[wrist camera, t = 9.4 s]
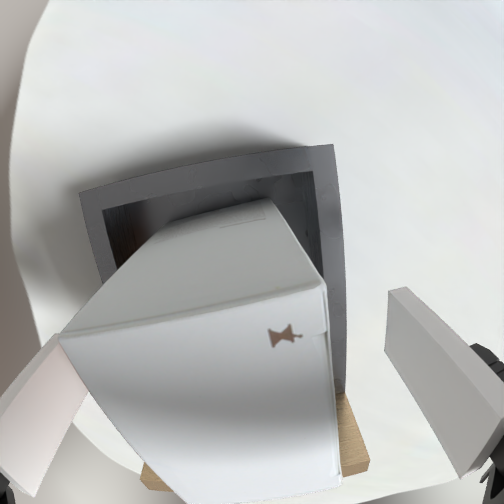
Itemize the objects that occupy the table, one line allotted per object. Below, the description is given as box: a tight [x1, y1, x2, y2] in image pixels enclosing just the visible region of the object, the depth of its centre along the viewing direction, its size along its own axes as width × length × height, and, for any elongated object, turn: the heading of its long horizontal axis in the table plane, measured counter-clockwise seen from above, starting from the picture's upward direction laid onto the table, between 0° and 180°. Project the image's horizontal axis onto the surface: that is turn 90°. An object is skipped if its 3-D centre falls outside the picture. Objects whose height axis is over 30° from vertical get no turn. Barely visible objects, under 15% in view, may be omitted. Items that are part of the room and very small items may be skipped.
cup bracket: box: [79, 144, 370, 492], centre depth 13 cm, size 11×14×9 cm
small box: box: [58, 198, 343, 504], centre depth 11 cm, size 8×6×10 cm
